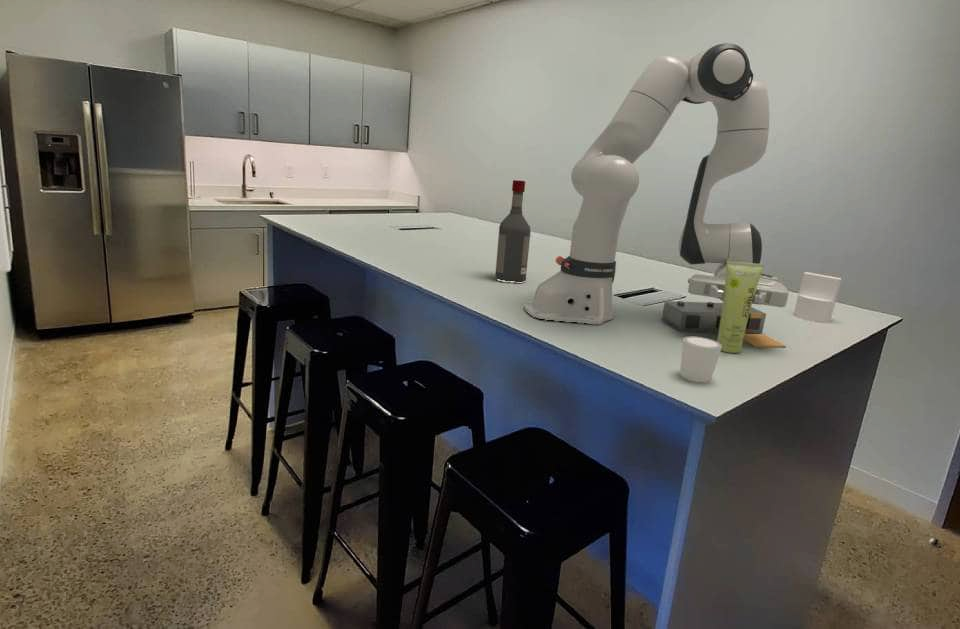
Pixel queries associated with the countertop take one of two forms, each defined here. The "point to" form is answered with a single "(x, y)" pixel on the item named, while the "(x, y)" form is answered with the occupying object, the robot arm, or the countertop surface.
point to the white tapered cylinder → (699, 358)
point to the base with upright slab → (817, 297)
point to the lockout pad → (761, 341)
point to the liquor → (513, 240)
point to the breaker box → (704, 317)
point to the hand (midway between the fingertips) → (738, 297)
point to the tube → (737, 303)
